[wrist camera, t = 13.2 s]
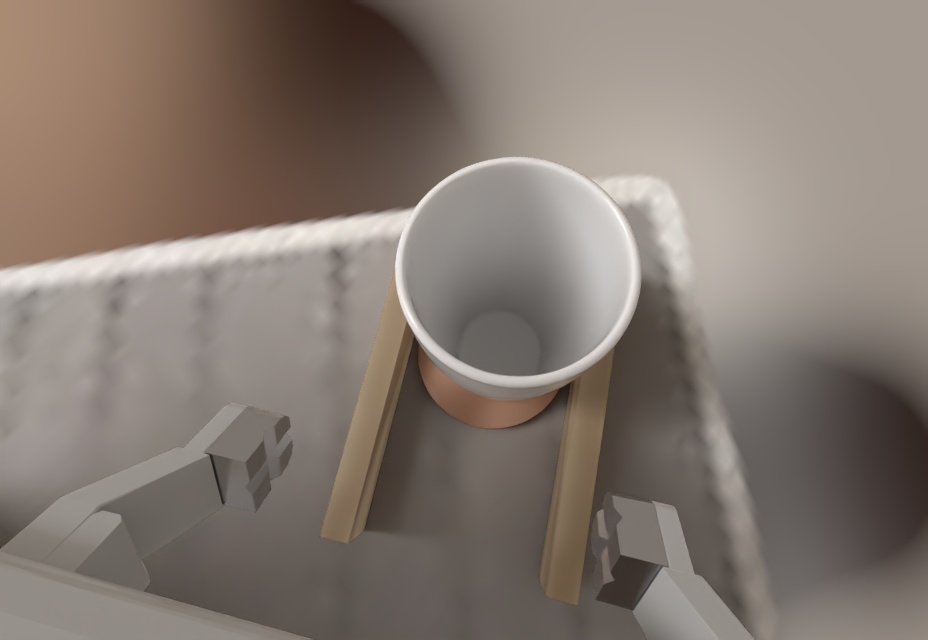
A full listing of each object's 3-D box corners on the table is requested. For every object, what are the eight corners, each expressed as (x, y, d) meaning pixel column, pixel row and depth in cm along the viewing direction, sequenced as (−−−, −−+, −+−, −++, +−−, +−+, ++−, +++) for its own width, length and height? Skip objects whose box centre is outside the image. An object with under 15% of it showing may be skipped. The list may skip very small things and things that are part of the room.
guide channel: (339, 523, 25) (319, 536, 22) (414, 246, 29) (406, 225, 26) (566, 583, 23) (577, 605, 20) (611, 283, 27) (626, 266, 24)
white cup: (572, 392, 25) (691, 340, 11) (462, 429, 25) (432, 428, 10) (532, 288, 27) (587, 122, 12) (428, 322, 27) (362, 193, 12)
